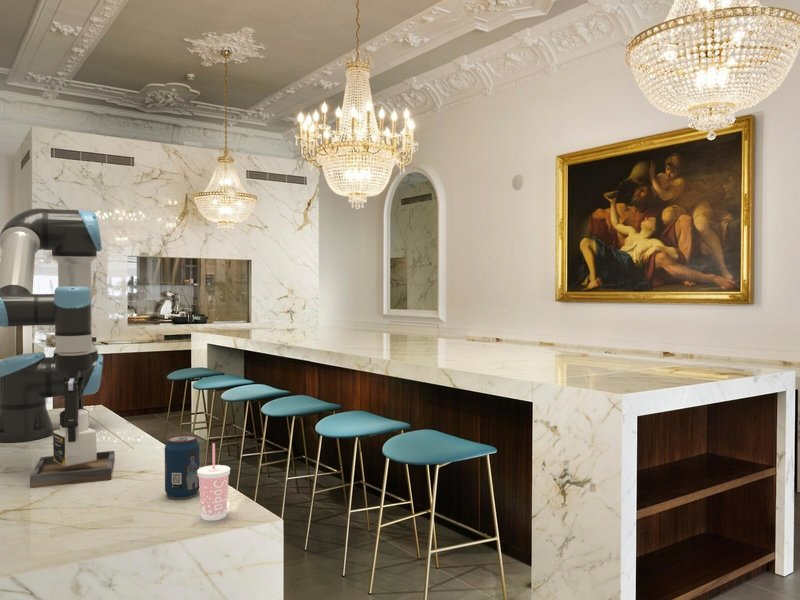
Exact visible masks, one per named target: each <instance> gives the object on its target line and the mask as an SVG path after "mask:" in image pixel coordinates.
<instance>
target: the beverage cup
mask: <svg viewBox="0 0 800 600" xmlns="http://www.w3.org/2000/svg"><path fill="white" fill-rule="evenodd" d="M211 447H212V449H211V450H212V461H211V462H212V465H205V466H202V467H200V468H199V469H198V470H197V473H198V474H197V476H198V477H199V500H200V513H201V515H200V516H201V518H202V520H204V521H218V520H222V519H225V517H227V510H228V508H227V507H228V491H229V478H230V477H229V475H230V474H231V467H229V466H228V465H224V464H223V465H222V464H216V443H214V442H212V446H211Z"/></svg>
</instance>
